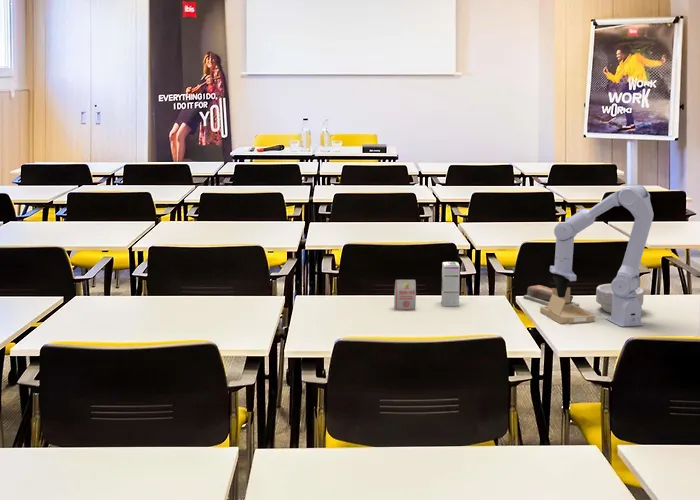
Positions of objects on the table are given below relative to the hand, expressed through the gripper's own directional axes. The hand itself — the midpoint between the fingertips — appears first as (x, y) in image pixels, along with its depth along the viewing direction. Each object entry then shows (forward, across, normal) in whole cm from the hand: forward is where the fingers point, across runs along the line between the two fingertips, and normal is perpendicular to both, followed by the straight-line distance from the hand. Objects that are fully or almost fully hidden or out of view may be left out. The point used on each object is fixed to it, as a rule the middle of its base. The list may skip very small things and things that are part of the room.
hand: (561, 297), depth 285 cm
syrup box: (+5, -16, -34) cm, 37 cm away
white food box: (+5, -14, -50) cm, 53 cm away
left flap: (+2, +10, -8) cm, 13 cm away
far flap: (+2, 0, 0) cm, 2 cm away
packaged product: (+6, -11, +2) cm, 13 cm away
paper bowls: (+5, +4, +19) cm, 21 cm away
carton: (+5, +7, -2) cm, 9 cm away
